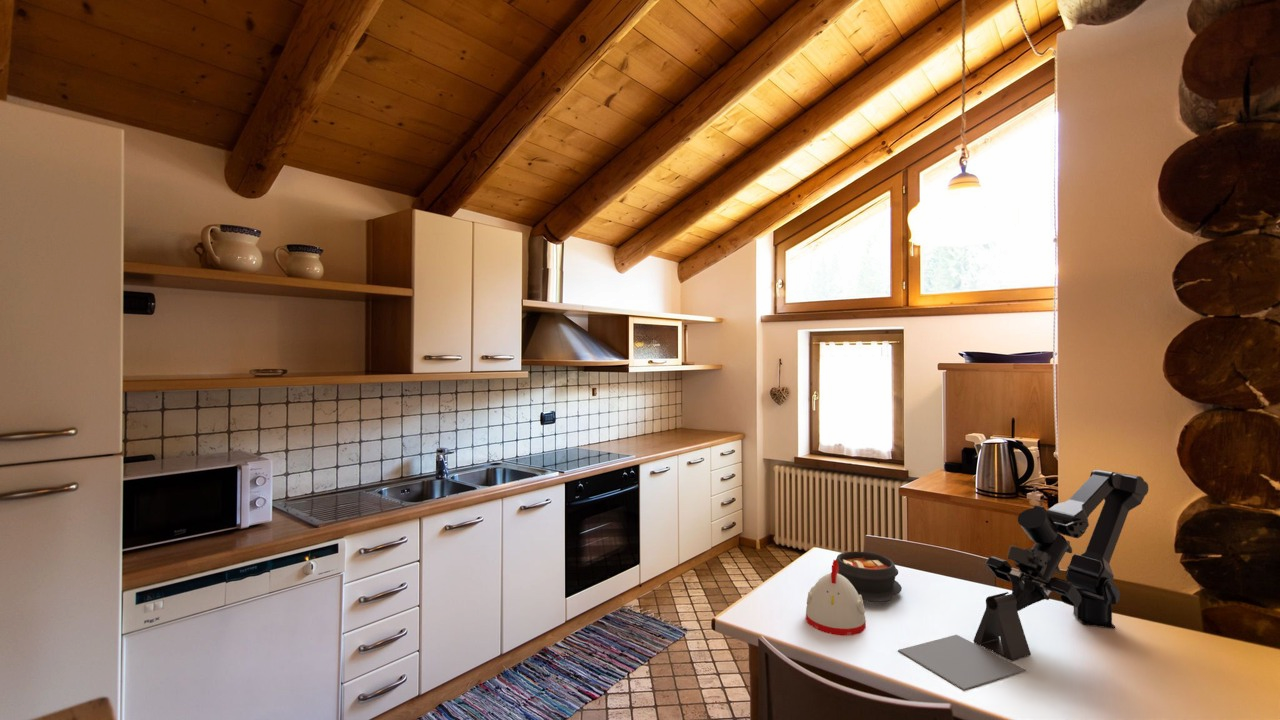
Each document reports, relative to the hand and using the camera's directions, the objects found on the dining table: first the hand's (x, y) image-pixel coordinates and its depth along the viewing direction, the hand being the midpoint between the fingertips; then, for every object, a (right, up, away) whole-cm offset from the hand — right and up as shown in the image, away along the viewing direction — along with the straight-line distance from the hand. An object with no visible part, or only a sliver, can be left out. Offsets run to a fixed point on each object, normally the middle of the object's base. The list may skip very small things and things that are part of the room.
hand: (1013, 610), depth 127 cm
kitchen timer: (-36, -8, +12) cm, 39 cm away
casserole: (-21, -8, +31) cm, 38 cm away
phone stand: (-4, -8, -1) cm, 9 cm away
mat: (-16, -8, -6) cm, 19 cm away
